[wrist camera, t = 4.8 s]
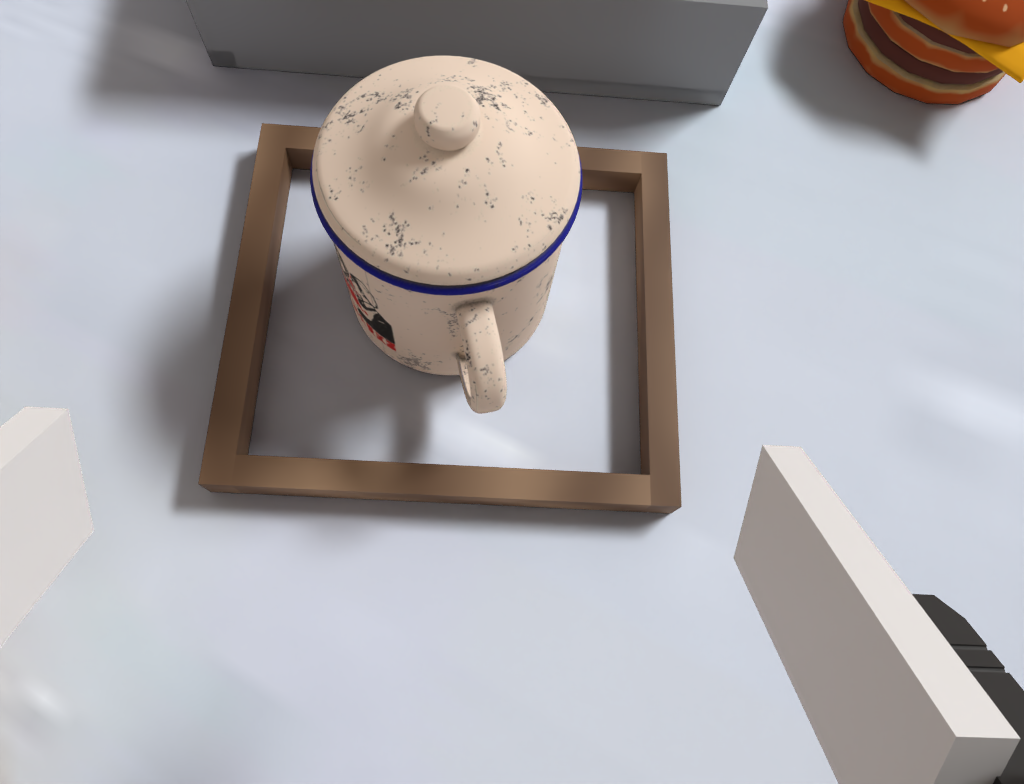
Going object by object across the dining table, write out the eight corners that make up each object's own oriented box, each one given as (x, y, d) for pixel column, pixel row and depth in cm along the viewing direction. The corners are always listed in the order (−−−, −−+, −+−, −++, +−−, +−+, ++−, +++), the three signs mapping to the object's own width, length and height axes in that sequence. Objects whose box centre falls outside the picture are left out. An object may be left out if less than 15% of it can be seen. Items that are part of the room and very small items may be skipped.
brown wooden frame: (658, 173, 35) (666, 153, 34) (670, 513, 30) (681, 506, 29) (269, 144, 34) (261, 123, 33) (211, 491, 29) (198, 483, 28)
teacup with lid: (332, 215, 33) (271, 4, 22) (526, 186, 35) (559, -27, 24) (375, 469, 30) (328, 365, 19) (590, 425, 31) (664, 305, 20)
